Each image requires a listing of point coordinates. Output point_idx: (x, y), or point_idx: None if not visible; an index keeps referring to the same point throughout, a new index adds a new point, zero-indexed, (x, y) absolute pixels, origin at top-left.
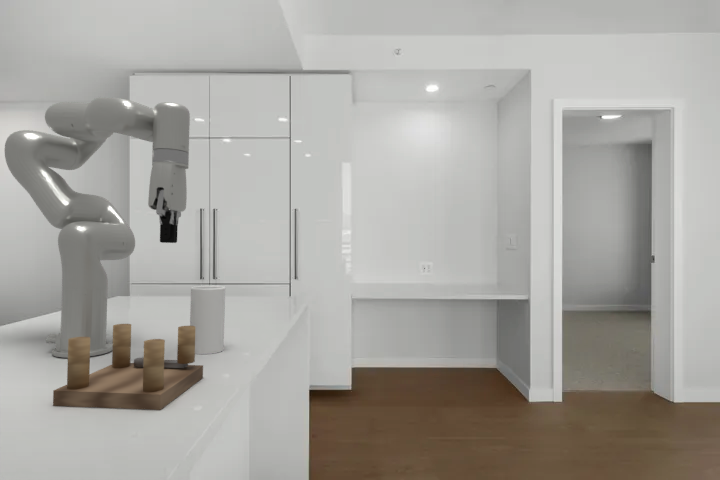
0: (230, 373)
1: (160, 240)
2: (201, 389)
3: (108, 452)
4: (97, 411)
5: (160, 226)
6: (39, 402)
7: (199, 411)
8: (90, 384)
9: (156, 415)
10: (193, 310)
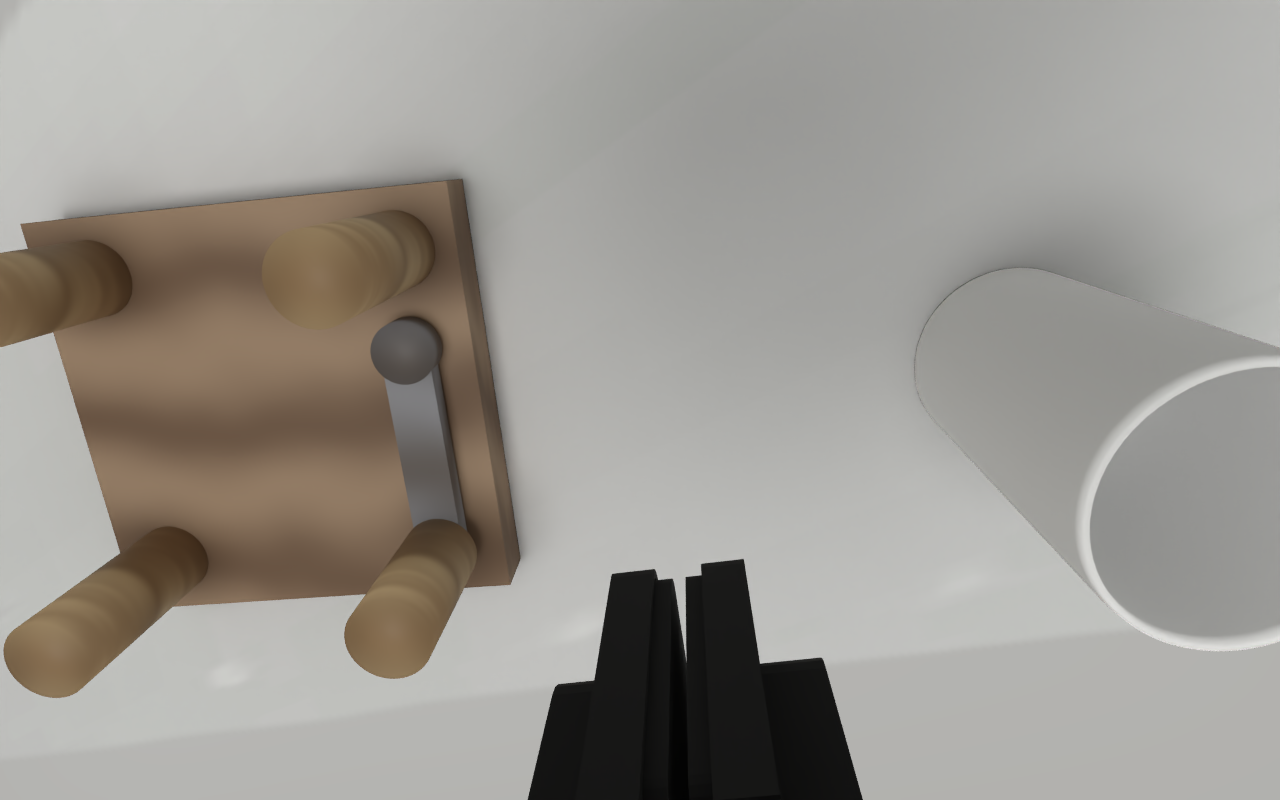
0: None
1: (610, 591)
2: None
3: None
4: None
5: (586, 773)
6: (71, 137)
7: (203, 690)
8: (130, 309)
9: None
10: (1027, 381)
